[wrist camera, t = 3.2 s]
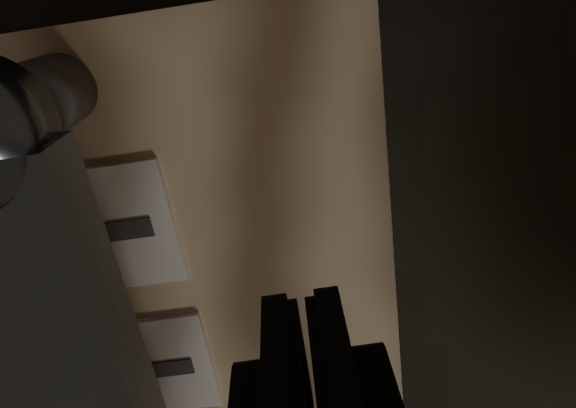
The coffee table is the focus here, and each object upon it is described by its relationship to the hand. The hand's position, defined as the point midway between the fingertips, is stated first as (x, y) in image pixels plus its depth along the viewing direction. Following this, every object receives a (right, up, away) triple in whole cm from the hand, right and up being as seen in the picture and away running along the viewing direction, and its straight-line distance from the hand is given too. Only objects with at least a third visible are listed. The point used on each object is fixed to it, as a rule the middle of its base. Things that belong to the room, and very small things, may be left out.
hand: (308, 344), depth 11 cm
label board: (-7, +1, +11) cm, 13 cm away
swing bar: (-7, -2, +5) cm, 9 cm away
